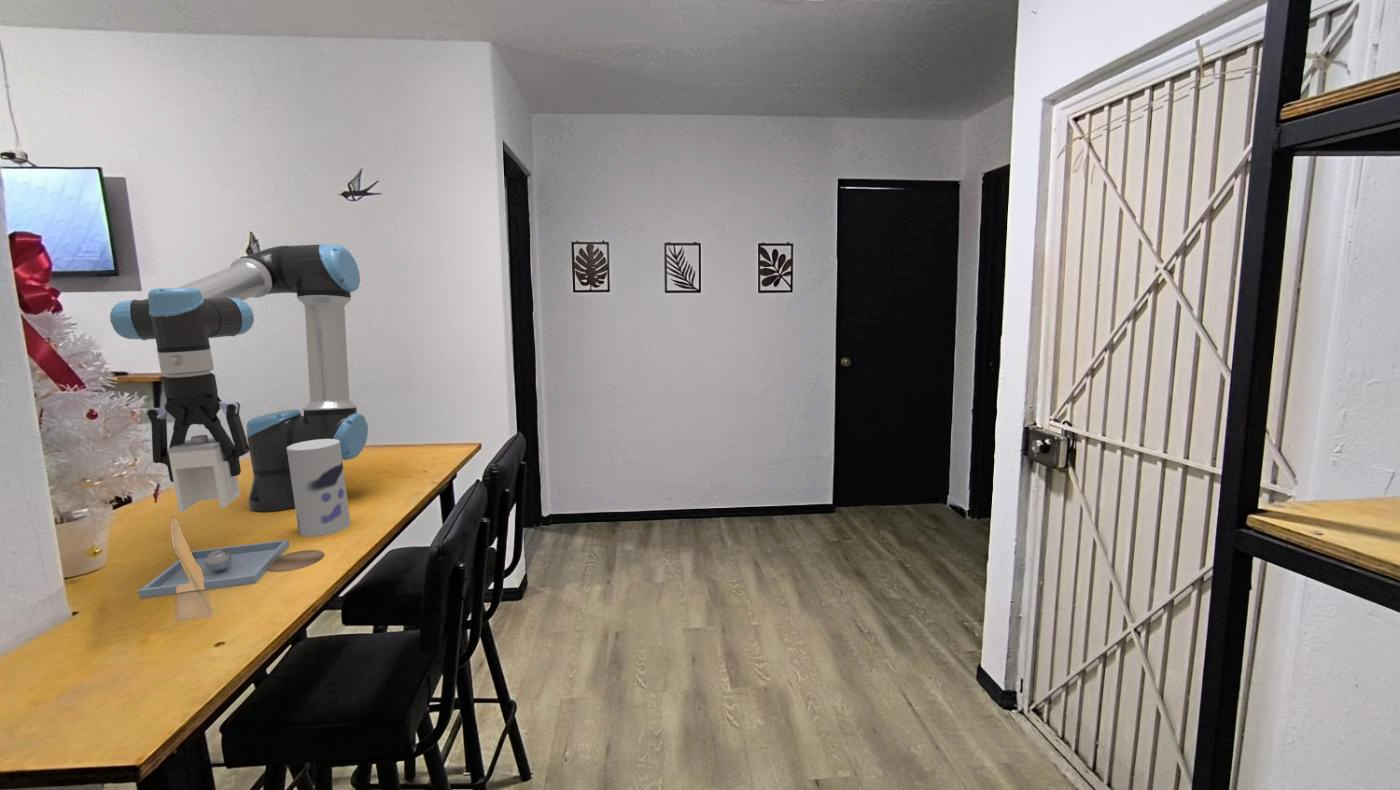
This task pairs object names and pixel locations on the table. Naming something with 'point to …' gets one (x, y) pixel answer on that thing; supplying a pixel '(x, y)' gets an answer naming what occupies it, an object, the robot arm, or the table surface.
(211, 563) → the ball
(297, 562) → the coaster
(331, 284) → the robot arm
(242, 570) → the tray
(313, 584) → the table surface
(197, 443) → the open-front grey box
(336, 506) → the container
